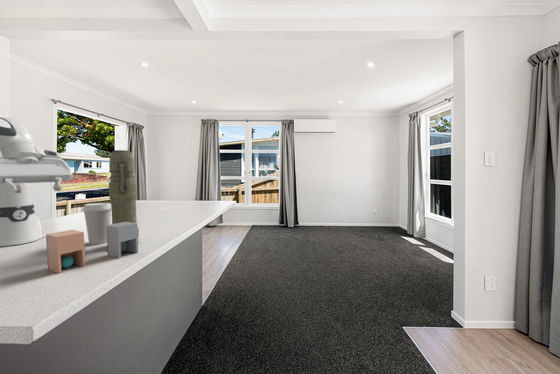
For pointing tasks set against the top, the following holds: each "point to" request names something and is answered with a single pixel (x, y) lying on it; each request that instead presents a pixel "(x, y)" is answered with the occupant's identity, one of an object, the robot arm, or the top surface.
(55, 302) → the top surface
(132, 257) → the top surface
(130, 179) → the thermos
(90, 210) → the coffee cup
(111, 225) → the light gray boxy block
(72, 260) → the teal ball
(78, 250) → the tan block
